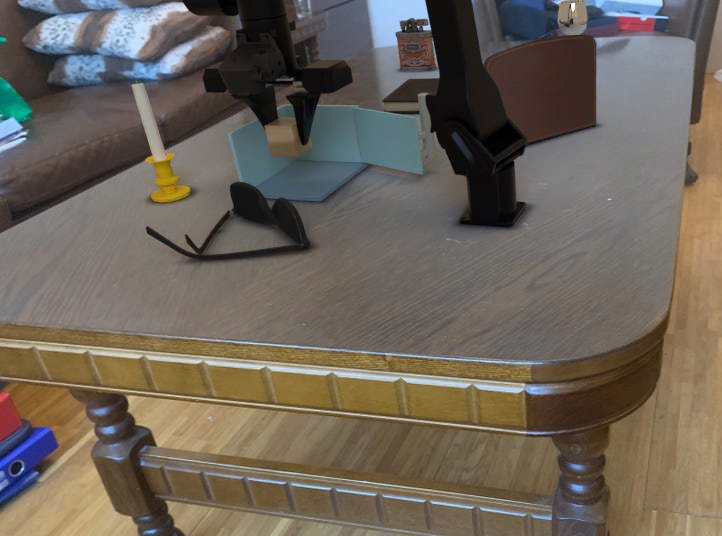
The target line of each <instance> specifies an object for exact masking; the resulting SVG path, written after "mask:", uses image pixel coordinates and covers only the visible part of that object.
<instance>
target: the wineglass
mask: <svg viewBox="0 0 722 536" xmlns="http://www.w3.org/2000/svg"><path fill="white" fill-rule="evenodd" d="M557 27H558V31H559V32H560V33H561V34H562V36H566V35H583V33H585V31H586V30H587V27H588V11H587V5H586V1H585V0H562V1H560V2H559V7H558V12H557Z"/></svg>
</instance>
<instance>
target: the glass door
mask: <svg viewBox="0 0 722 536" xmlns="http://www.w3.org/2000/svg"><path fill="white" fill-rule="evenodd" d="M427 94H429V93H421V94H418V103H419V112H420V113H419V121H420V129H421V131H419V127H418V120H417V119H418V118H417V116H414V115H413V116H412V115H408V114H395V113H388V112H384V111H383V110H376V109H369V108H363V107H359V108H357V107H354V108H353V110H354V116H355V122H356V128H357V135H358V141H359V147H360V153H361V159H362V162H365V163H368V165H375V166H379V167H384V168H389V169H393V170H397V171H402V172H407V173H412V174H416V175H424V167H423V161H422V160H423V158H425V159H427V160H430V159H435V158H436V157H437V148H436V139H435V132H434V133H431V132H430V129H431V119H430V115H429V112H428V109H427V106H426V101H425V96H426V95H427ZM420 141H422V145H423V148H422V149H421V144H420Z"/></svg>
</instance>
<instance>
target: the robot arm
mask: <svg viewBox="0 0 722 536" xmlns="http://www.w3.org/2000/svg"><path fill="white" fill-rule="evenodd" d="M181 1H182V3H183V6H184V7H185V9H187V10H188V11H189V12H190V13H191V14H192V15H195V16H198V17H237V16H238V18H239V22H240V27H241V28H238V29H235V40H236V41H235V42H236V48H235V49H232V50H231V51H230V53H228V54H227V56H226V57H225V58H224V59H223V61H221V62H218V63H216V64H213V65H209V67H205V68H204V71H203V73H202V77H201V80H202V83H203V88H204V92H205V93H207V94H209V93H210V94H211V93H213V94H214V93H215V94H217V93H218V94H224V93H227V91H228V92H229V94H230V96H231V98H232V99H233V100H238V101H240V102H242V103H243V104H245V106H248V107H249V108H250V110H251V112H252V113H253V114H254V115H255V117H256V118H258V120H259V121H260V123H261V125H262V126H263V128H264V130H265V125H267V124H269V123H271V122H273V121H275V120H276V119H278V113H277V108H278V106H277V97H276V91H275V85H292V87H293V92H291V93H289V94H287V95H285V99H286V100H287V101H288V102H289V104H291V105H292V106H293V109H294V114H295V119H296V124H297V130H298V135H299V138H300V141H301V144H302V145H306V144H308V142H309V137H310V132H311V128H312V123H313V119H314V115H315V110H316V107H317V105H319V101H320V98H321V95H322V94H325V95H327V94H333V93H336V92H338V91H340V90H341V89H344V88H345V87H347V86H348V85H351V84H352V83H354V79H353V72H352V68H351V67H350V66H349V64H348V63H347V62H346V60H345V59H320V60H317V61H315V62H313V63H312V64H309V65H307V66H305V67H299V66H302V65H303V64H304V61H303V57H302V55H296V50H295V44H294V40H293V35H292V32H294V31H295V30H297V26H296V21H295V20H289V14H288V9H287V4H286V0H181ZM424 3H425V6H426V8H425V9H426V13H427V16H428V17H427V19H428V24H429V27H430V30H431V33H432V39H433V49H434V54H435V57H436V58H435V59H436V62H437V63H436V64H437V67H438V74H439V75H438V78H439V82H438V87H437V90H435V91H433V92H431V93H429V94H427V95H426V96H425V101H426V106H427V109H428V112H429V115H430V119H431V129H430V132H431V133H434V134H435V137H436V140H437V143H438V144H439V146H440V148H441V149H442V150H444V151H445V154H446V156H447V158H448V161H449V163H450V166H451V169H452V172H453V174H454V175H455V176H462V177H465V179H466V191H467V192H466V193H467V205H468V208H467V209H465V212H463V214H462V215H461V216H460V217H459V218H458V219H459V220H458V221H459V223H460V224H466V225H467V224H468V225H483V226H499V227H512V226H513V225H514V224H515V222H516V221H517V220H518V218H519V217H520V216H521V214H522V213H523V212H524V211H525V209H526V207H527V203H526V202H525V201H517V200H518V199H517V184H516V166H515V165H516V163H515V160H517V159H518V158H519V157H522V156H523V155H524V153H525V151H526V148H527V145H528V144H527V141H528V140H527V138H526V136H525V135H524V134H523V133H522V132H521V131H520V130H519V129H518V128H517V126H516V125H515V124H514V123H513V122H512V121H511V120H510V119H509V118H508V116H507V115H506V111H505V108H504V105H503V102H502V99H501V95H500V92H499V89H498V87H497V85H496V84H495V82H494V81H493V79H492V78H491V76H490V75H489V73H488V72H487V70H486V69H485V67H484V62H483V59H482V51H481V45H480V40H479V35H478V29H477V24H476V18H475V17H476V16H475V11H474V6H473V1H472V0H424ZM265 131H266V130H265Z"/></svg>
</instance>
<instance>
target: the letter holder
mask: <svg viewBox="0 0 722 536" xmlns="http://www.w3.org/2000/svg"><path fill="white" fill-rule="evenodd" d="M483 65H484V67H485V69H486V70H487V72H488V73H489V75H490V76H491V78H492V79H493V81H494V82H495V84H496V85H497V87H498V89H499V92H500V95H501V99H502V102H503V105H504V108H505V111H506V115H507V116H508V118H509V119H510V120H511V121H512V122H513V123H514V124H515V125H516V126H517V128H518V129H519V130H520V131H521V132H522V133H523V134H524V135H525V136H526V138H527V140H528V141H527V145H530V144H534V143H537V142H540V141H544V140H548V139H552V138H555V137H560V136H562V135H566V134H571V133H574V132H577V131H581V130H585V129H588V128H591V127H596V125H597V42H596V39H595V38H594V36H592V35H591V34H580V35H566V36H565V35H557V36H551V37H545V38H539V39H535V40H530V41H526V42H524V43H523V42H522V43H521V44H518V45H515V46H511V47H509V48H506V49H504V50H501V51H499V52H496V53H493V54H491V55H489V56H488V57H487V58H485V60H484V62H483Z"/></svg>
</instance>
